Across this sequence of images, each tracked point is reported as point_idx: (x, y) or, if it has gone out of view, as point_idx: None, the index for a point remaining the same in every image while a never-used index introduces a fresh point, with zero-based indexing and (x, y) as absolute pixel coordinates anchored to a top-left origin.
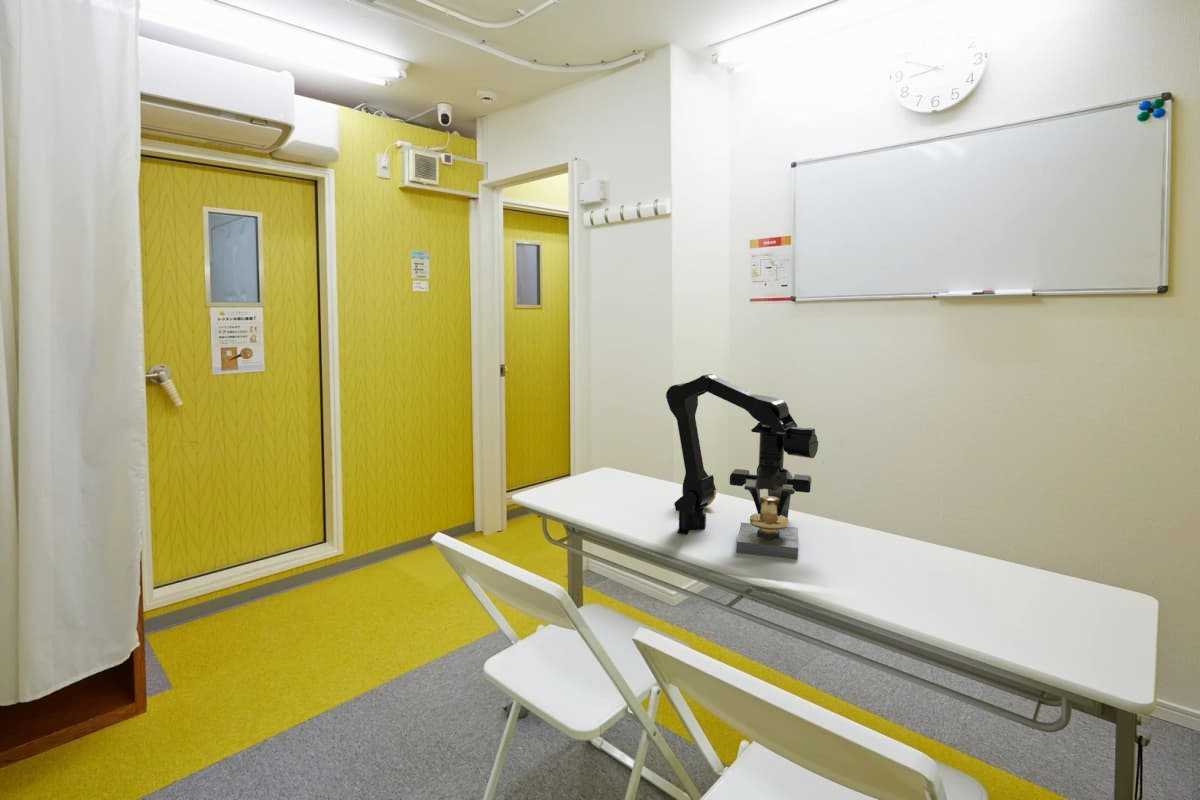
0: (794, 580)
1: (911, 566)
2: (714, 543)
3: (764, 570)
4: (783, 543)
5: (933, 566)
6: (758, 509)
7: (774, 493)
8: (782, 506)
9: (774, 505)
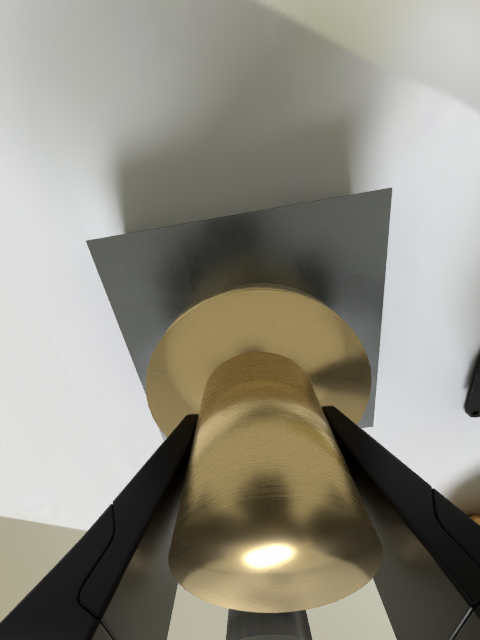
0: (72, 33)
1: None
2: (435, 305)
3: (220, 101)
4: (164, 269)
5: None
6: (343, 426)
7: (283, 627)
8: (137, 480)
9: (204, 467)
